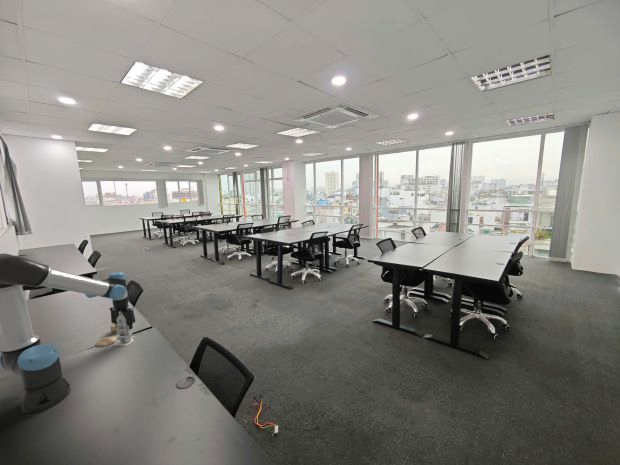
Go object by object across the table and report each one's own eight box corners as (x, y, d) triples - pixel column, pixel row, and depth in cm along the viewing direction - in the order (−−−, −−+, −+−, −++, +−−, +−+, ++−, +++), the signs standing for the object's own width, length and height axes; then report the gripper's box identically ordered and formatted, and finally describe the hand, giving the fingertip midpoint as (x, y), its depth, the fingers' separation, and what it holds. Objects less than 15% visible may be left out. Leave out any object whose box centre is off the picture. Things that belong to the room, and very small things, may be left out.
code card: (127, 345, 150) (127, 345, 150) (113, 345, 151) (113, 344, 151) (138, 337, 159) (138, 337, 159) (125, 336, 160) (125, 336, 160)
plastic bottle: (127, 344, 152) (123, 312, 149) (116, 343, 152) (112, 312, 149) (135, 337, 158) (131, 307, 155) (124, 337, 158) (120, 307, 155)
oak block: (120, 332, 165) (119, 325, 164) (111, 333, 163) (110, 326, 163) (123, 328, 169) (122, 321, 169) (115, 329, 168) (114, 322, 167)
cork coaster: (107, 347, 149) (107, 346, 149) (91, 346, 150) (91, 345, 150) (121, 337, 159) (121, 336, 159) (106, 337, 160) (106, 336, 160)
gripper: (139, 295, 153) (144, 331, 157) (110, 294, 155) (115, 329, 159) (130, 301, 146) (134, 337, 150) (99, 300, 148) (105, 336, 152)
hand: (125, 333), depth 154 cm, fingers closed on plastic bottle, 6 cm apart
